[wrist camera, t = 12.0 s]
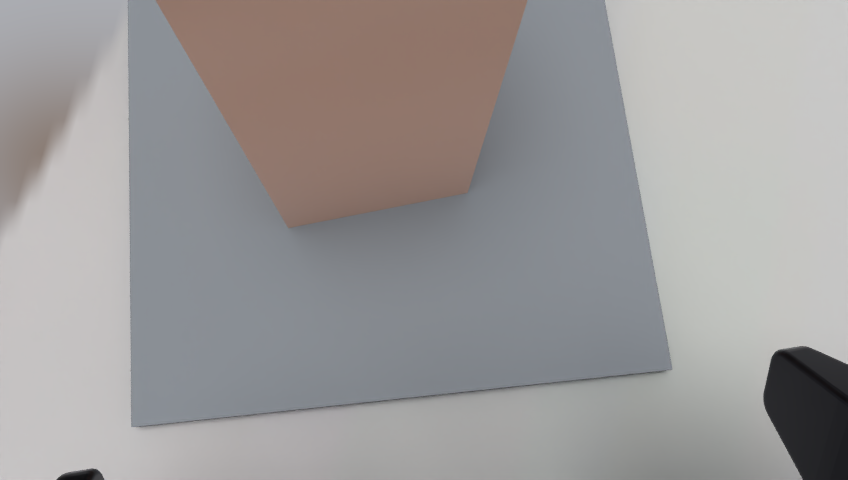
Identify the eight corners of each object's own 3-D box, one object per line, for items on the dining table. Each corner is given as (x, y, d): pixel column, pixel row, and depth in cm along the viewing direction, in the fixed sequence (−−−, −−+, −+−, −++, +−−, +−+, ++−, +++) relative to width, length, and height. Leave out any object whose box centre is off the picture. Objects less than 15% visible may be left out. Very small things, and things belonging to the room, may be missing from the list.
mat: (665, 370, 19) (672, 369, 19) (138, 426, 18) (131, 427, 18) (584, -77, 23) (588, -88, 22) (133, -46, 22) (127, -57, 21)
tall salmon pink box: (467, 193, 20) (566, -126, 8) (288, 228, 19) (123, -55, 8) (429, 33, 21) (468, -447, 9) (259, 62, 21) (76, -401, 9)
